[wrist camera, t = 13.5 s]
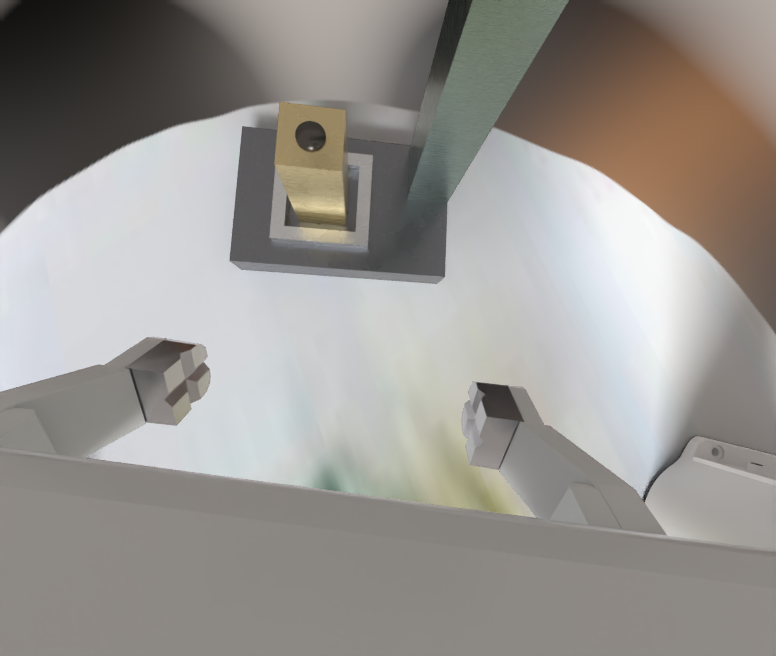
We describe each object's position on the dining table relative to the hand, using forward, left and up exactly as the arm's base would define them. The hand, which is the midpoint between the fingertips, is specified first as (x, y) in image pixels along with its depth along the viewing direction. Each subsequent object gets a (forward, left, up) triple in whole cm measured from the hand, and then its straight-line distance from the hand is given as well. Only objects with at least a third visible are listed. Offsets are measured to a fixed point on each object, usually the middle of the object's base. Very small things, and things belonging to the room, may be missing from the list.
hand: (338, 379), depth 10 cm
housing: (+3, -15, -19) cm, 25 cm away
